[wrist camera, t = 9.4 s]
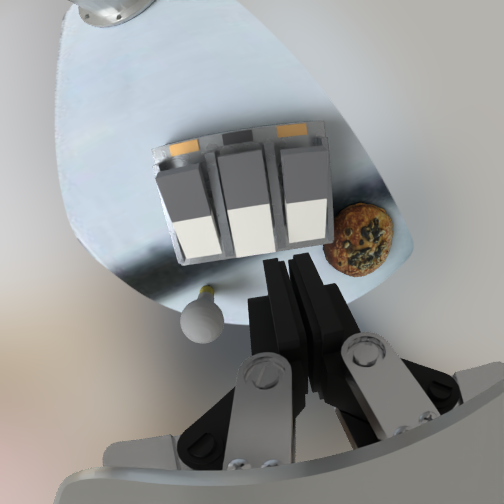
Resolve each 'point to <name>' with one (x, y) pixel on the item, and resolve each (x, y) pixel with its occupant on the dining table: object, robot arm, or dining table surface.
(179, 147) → the switch box
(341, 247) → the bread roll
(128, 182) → the dining table surface
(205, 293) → the light bulb
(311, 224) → the rocker
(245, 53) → the dining table surface
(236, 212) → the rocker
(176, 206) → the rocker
